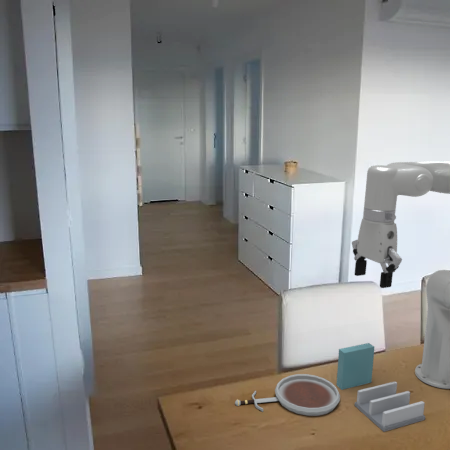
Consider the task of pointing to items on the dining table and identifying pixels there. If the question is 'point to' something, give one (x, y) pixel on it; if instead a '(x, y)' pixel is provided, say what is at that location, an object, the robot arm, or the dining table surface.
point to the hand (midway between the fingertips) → (372, 280)
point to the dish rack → (389, 406)
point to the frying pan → (302, 395)
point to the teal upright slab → (355, 366)
